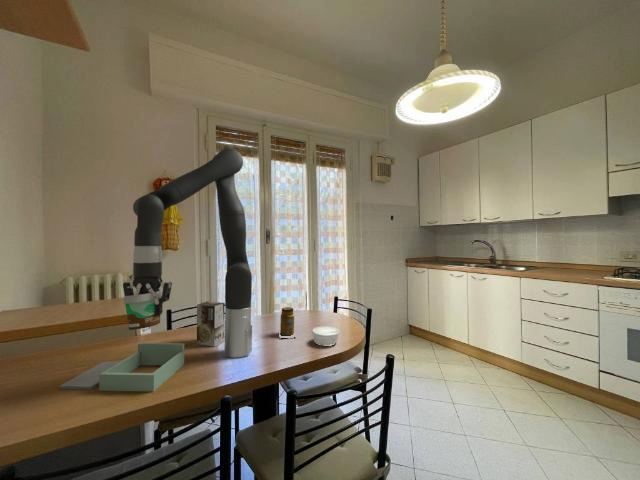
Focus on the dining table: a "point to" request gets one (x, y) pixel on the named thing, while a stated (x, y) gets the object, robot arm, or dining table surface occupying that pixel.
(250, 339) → the robot arm
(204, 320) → the coffee box
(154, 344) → the pale green open box
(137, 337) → the dining table surface
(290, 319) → the condiment
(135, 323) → the food container
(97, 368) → the slate tile
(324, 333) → the ramekin
